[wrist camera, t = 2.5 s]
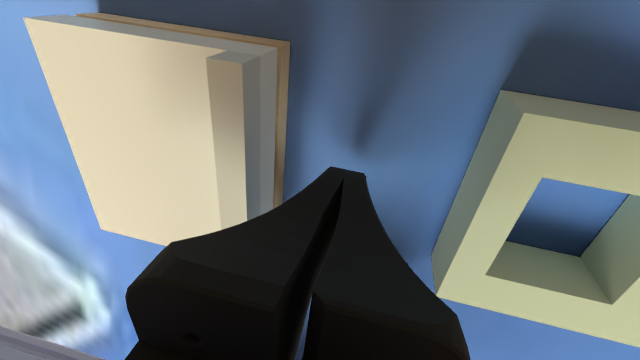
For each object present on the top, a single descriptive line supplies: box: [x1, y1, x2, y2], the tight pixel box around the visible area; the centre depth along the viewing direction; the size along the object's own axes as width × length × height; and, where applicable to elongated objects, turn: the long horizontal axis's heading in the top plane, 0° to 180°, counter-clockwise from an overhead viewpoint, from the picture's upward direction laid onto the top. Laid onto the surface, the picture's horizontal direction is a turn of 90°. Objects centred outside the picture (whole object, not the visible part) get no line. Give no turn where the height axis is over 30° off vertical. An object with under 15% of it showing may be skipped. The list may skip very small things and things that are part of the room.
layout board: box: [76, 12, 290, 209], centre depth 14 cm, size 9×8×1 cm
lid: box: [23, 15, 278, 246], centre depth 12 cm, size 9×8×3 cm
